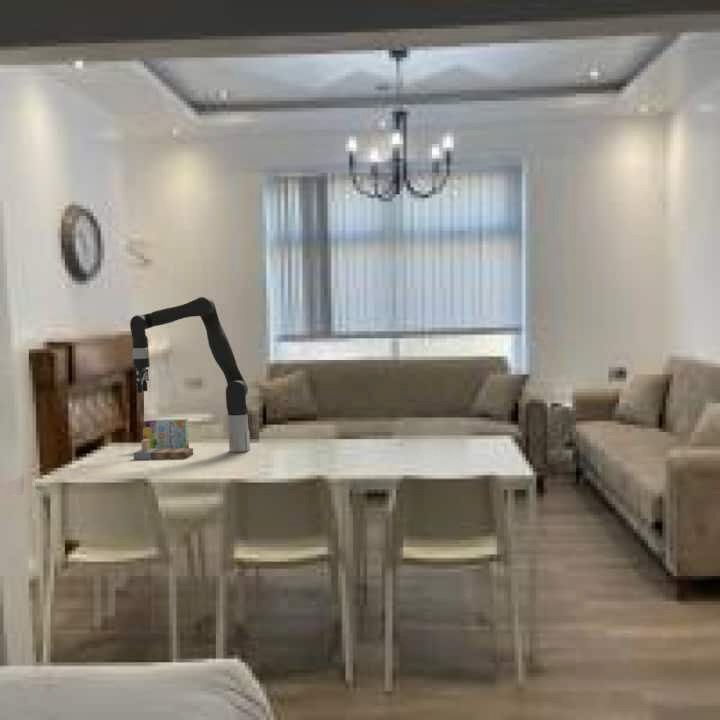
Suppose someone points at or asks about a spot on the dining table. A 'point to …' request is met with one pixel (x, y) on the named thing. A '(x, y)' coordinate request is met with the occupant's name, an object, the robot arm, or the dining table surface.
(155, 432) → the snack box
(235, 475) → the dining table surface
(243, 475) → the dining table surface
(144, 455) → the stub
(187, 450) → the board
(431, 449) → the dining table surface
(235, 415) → the robot arm
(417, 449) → the dining table surface
